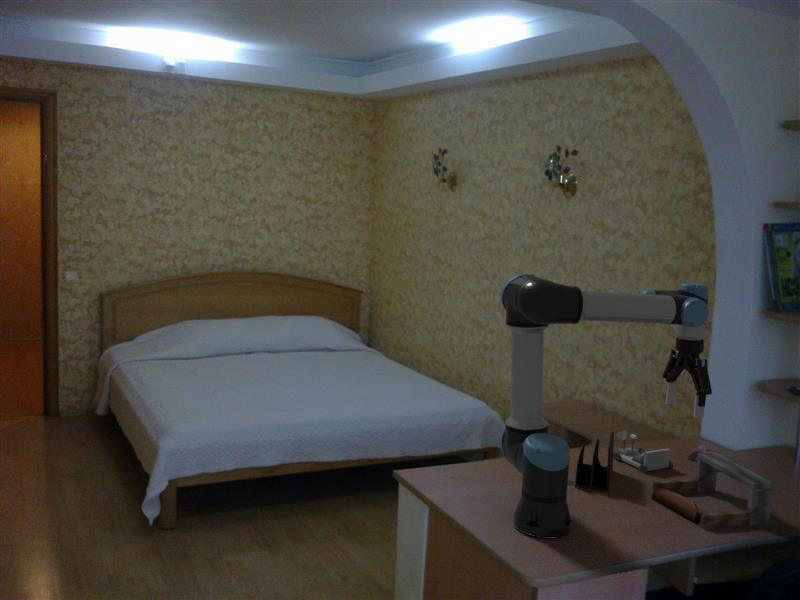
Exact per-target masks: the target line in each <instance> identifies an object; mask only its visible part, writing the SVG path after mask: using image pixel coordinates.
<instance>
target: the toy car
mask: <svg viewBox="0 0 800 600" xmlns="http://www.w3.org/2000/svg"><path fill="white" fill-rule="evenodd" d="M618 431H619V432H617V433H616V434H615V437H617V438H618V439H619V440H621V441H623V448H617V451H615V452H613V461H615V462H620V461H623V462H625V463H626V464H628V465H629V464H630V465H631V466H633V467H635V468H638V470H639V472H640V473H642V474H644V475H645V474H648V472H649V471H655V470H656V471H657V470H662V469H667V468H669V469H668V470H670V469H671V470H673V468H674V463H673V462H672V460H670V459H671V448H664V449H656V450H649V451H646V450H645V448H642V447H638V448H634V445H635V444H634V441H635V440H636V439H637V438H638V437H637V436H638V435H636V434H633V433H630V434H629V438H631V439H632V443H631V447H630V446H629V447H626V440H627V438H628V430H626V429H624V430H621V428H619V429H618Z"/></svg>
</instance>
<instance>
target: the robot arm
mask: <svg viewBox="0 0 800 600" xmlns="http://www.w3.org/2000/svg"><path fill="white" fill-rule="evenodd" d="M500 301H501V302H500V303H501V304H502V307H503V309H504V310H505V325H506V327H507V328H508V329H509V330H510V331H511V358H510V359H511V361H510V363H511V364H510V365H511V366H510V367H511V369H510V370H511V371H510V372H511V374H510V377H511V380H510V382H511V383H510V391H511V392H510V394H511V395H510V416H509V417H508V418H507V419H506V420H505V428H504V430H503V431H502V433H501V436H500V439H499V443H500V444H499V445H500V449H501V452H502V454H503V456H504V457H505V459H506V461H507V462H508V463H510V464H511V465H512V466H513V467H514V468H515V469H516V470H517V471H518V472H519V473H520V474H521V475H522V476H521V478H522V479H521V495H520V498H519V501H518V503H517V506H516V508H515V511H514V513H513V520H512V523H513V522H514V525H515V526H516V527H517V528H518V529H519V530H521V531H523V532H525V533H528V534H531V535H534V536H540V537H559V538H562V537H561V536H563V537H566V536H568V535H570V534H571V532H572V526H573V520H572V516H571V512H570V507H569V504H568V501H567V497H568V482H569V470H570V469H569V465H570V457H571V456H570V447H569V444H568V443H567V442H566V441H565V440H564V439H563V438H561V437H559V436H557V435H556V436H555V435H554V434H551V433H549V421H547V420H546V418H544V416H543V413H544V411H543V405H544V402H543V398H544V397H543V396H544V393H543V392H544V333H545V331H546V330H547V329H548V328H549V327H550V325H560V324H561V325H564V324H565V325H576V324H577V325H578V324H579V323H580V322H581V321H587V322H588V321H591V322H614V323H616V322H617V323H640V324H641V323H643V324H662V325H663V324H665V325H666V324H667V325H676V332H675V334H676V336H677V337H675V344H674V345H675V347H674V349H671V351H670V355H669V358H668V359H669V360H668V361H667V364H666V366H665V369H664V371H663V372H662V378H663V379H665V381H666V398H665V405H676V401H677V400H676V398H677V387H678V380H677V379H678V378H679V377H680V375H681V374H682V372H683V371H684V370H685V371H686V372H688V374H690V377H691V380H692V382H693V384H694V387H695V391H696V393H694V402H693V403H694V404H693V405H694V406H693V418H694V419H699V418H704V416H705V415H704V414H705V406H706V401H707V400H706V399H707V395H712V394H713V390H712V385H711V381H710V375H709V370H708V358H700V354H702V353H703V352H704V348H705V347H704V346H705V340H704V338H705V336H706V335H705V331H706V322H707V321H708V318H709V315H710V314H709V313H710V309H709V306H708V303H709V287H708V285H707V284H704V283H699V282H683V283H681V284H680V286H679V289H678V290H666V289H665V290H663V289H662V290H659V289H657V290H656V289H651V290H644V291H641V293H628V292H627V293H626V292H611V291H610V292H609V291H595V290H594V291H592V290H591V291H589V290H582V288H581V287H580V286H573V285H565V284H562V283H561V284H560V283H557V282H554V281H552V280H548V279H546V278H541V277H538V276H537V275H534V274H526V273H525V274H524V273H521V274H516V275H514V276H512V277H510V278H509V279H508V280H507V281H506V282H505V283H504V284H503V287H502V289H501V293H500ZM514 525H513V526H514ZM519 530H518V531H519ZM567 534H568V535H567ZM565 535H566V536H565ZM534 536H533V537H534Z"/></svg>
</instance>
